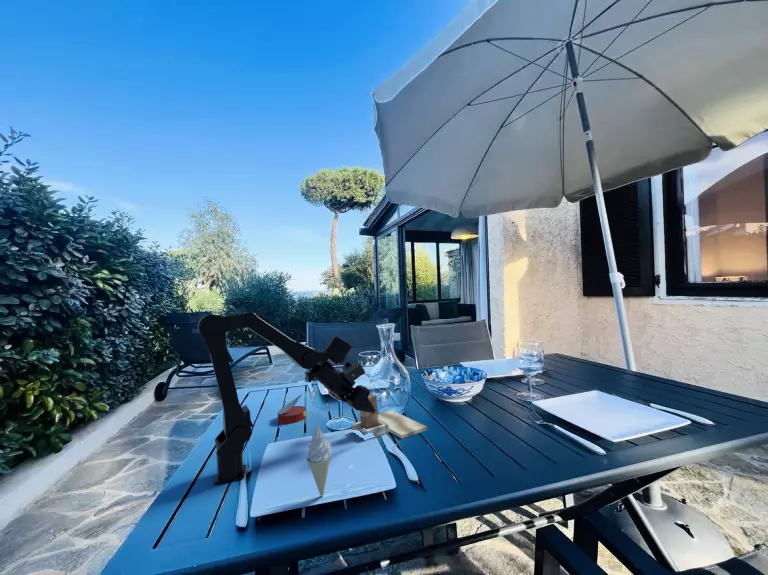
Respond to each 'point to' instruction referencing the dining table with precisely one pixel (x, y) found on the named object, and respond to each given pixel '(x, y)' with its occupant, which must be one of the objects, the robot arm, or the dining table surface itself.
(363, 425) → the peg
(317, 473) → the ice cream cone
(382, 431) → the socket
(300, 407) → the canned food
